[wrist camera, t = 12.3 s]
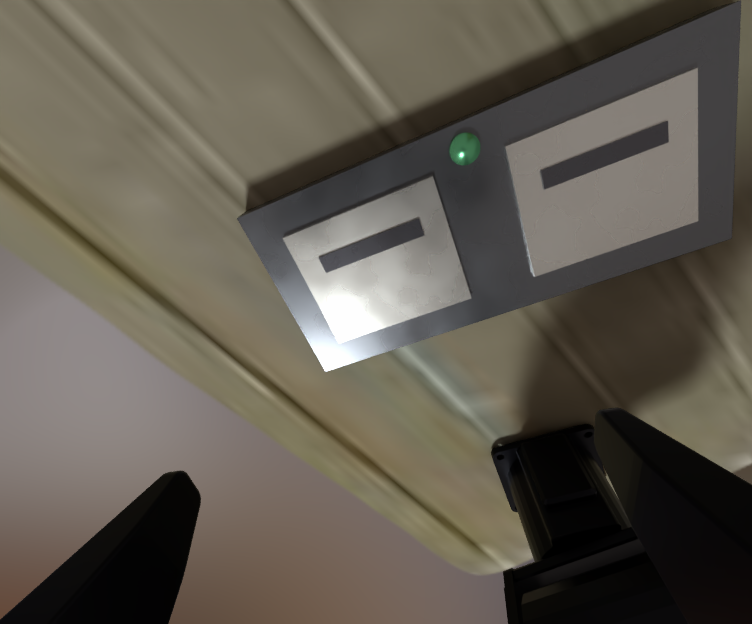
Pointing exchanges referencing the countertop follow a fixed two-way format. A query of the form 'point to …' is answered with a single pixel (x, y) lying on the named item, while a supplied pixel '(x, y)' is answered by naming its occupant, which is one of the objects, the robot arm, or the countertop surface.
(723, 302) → the countertop surface
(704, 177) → the panel
